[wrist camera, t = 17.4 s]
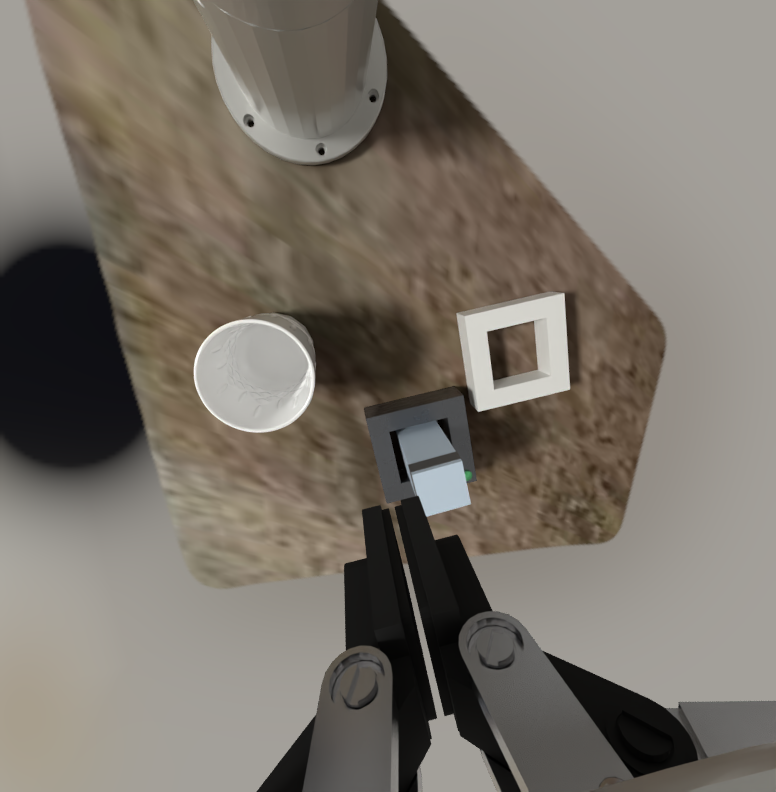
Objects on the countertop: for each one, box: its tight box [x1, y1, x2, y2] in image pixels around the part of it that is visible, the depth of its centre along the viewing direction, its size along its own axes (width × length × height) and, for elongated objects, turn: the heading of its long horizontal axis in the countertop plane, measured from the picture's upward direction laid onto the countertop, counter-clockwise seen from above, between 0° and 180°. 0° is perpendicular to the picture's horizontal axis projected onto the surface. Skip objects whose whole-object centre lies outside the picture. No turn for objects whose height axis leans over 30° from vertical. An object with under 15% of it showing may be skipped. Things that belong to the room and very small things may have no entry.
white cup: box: [194, 312, 316, 432], centre depth 31 cm, size 8×8×10 cm
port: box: [364, 386, 477, 503], centre depth 39 cm, size 9×9×3 cm
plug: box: [396, 421, 471, 517], centre depth 36 cm, size 4×4×10 cm
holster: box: [456, 292, 570, 412], centre depth 37 cm, size 9×9×2 cm
